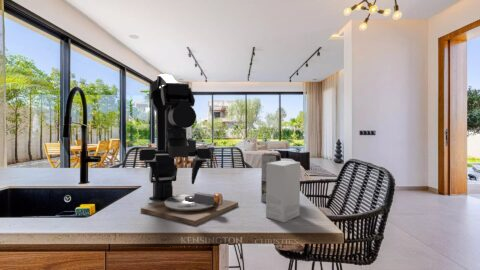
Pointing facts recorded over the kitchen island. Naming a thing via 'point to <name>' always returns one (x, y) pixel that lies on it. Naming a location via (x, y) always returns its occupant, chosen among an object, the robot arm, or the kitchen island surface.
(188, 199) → the handwheel
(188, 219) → the wheel base
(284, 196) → the skincare box
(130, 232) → the kitchen island surface
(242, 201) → the kitchen island surface
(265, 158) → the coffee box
